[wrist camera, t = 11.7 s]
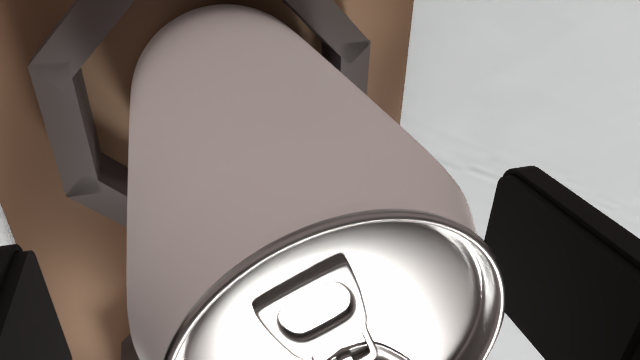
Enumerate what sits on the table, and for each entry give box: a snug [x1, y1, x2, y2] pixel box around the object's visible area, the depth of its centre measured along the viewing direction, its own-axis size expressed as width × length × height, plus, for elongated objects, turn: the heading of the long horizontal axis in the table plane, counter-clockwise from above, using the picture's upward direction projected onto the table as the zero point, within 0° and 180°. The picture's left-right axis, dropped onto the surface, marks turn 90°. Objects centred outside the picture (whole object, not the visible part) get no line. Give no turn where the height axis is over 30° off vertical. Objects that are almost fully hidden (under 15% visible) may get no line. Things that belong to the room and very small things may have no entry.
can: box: [126, 4, 506, 360], centre depth 12 cm, size 6×6×12 cm
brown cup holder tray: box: [0, 0, 414, 360], centre depth 18 cm, size 15×24×10 cm, turn 178°
